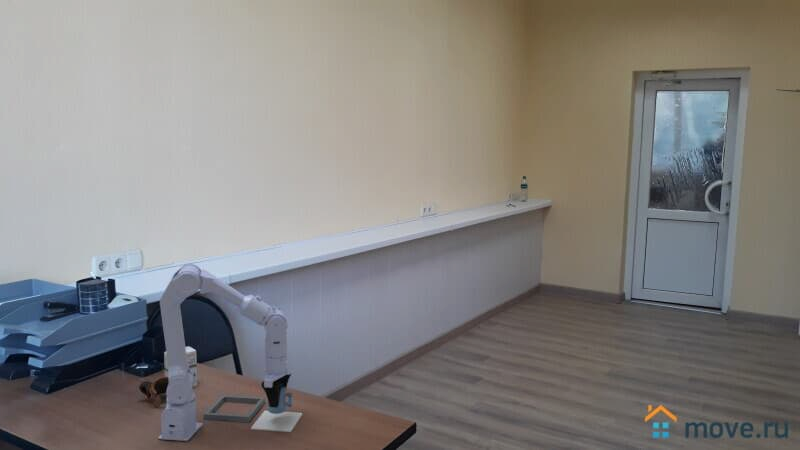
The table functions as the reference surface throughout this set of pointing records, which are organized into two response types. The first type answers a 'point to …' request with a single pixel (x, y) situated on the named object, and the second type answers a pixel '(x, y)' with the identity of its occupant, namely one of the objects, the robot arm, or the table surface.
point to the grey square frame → (232, 417)
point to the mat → (277, 421)
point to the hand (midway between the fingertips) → (277, 402)
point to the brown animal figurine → (155, 390)
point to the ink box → (191, 360)
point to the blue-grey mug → (282, 402)
